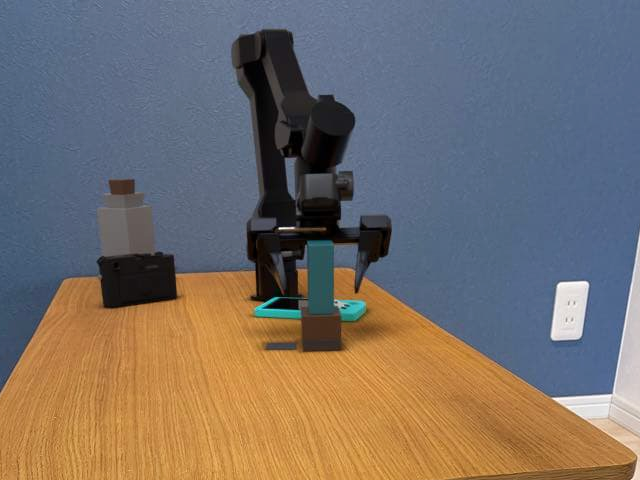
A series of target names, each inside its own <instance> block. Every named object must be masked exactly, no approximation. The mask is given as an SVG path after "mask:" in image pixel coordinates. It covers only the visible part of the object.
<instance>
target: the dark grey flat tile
mask: <svg viewBox="0 0 640 480" xmlns="http://www.w3.org/2000/svg"><path fill="white" fill-rule="evenodd" d="M297 344H298V342H297V341H295V342H288V341H287V342H286V341H285V342H267V343H266V346H265V350H266V351H267V350H297Z"/></svg>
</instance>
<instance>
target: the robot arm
mask: <svg viewBox="0 0 640 480" xmlns="http://www.w3.org/2000/svg"><path fill="white" fill-rule="evenodd" d="M294 47H295V45H294V35H293V33H292V31H291V30H288V29H287V28H261V29H260V30H257V31H255V32H254V33H240V34H239V35H238V37H237V38H236V39H235V40H234V41H232V43H231V48H230V49H231V50H230V58H231V65H232V68H233V69H235V74H236V80H237V85H238V86H239V88H240V89H241V91H242V92H243V93H244V95H245V96H246V98H247V99H248V100H249V108H250V115H251V117H250V118H251V125H252V127H251V128H252V135H253V146H254V155H255V164H256V173H257V184H258V193H259V198H258V200H257V203H256V205H255V207H254V210H253V212H252V213H251V217H250V218H249V219H248V220H247V221H246V223H245V225H246V244H245V245H246V246H245V249H246V258H247V260H248V261H249V262H251V263H253V264H254V269H255V271H254V272H255V294H252V295H250V296H249V297H250V300H256V301H257V300H258V301H266V302H267V301H269V300H271V299H273V298H274V297H286V298H303V293H301V292H299V270H298V269H297V261H304V260H305V254H306V253H305V252H306V246H307V241H317V240H332V242H333V244H334V246H357V252H356V260H355V261H356V263H355V272H354V274H355V275H354V284H353V288H354V294H355V295H356V294H357V295H358V294H359V292H360V289H361V286H362V283H363V280H364V277H365V275H366V272H367V271H368V270H369V267H370V265H371V264H372V263H377V262H379V260H380V259H381V258H382V259H383V258H385V257H387V256H388V255H389V252H390V251H389V250H390V244H391V239H392V232H393V224H392V219H391V218H390V217H389V216H388V214H385V213H384V214H360V216H359V225H358V226H357V227H356V226H355V227H341V226H340V225H341V224H340V221H341V220H342V202H352V201H353V199H354V195H355V194H354V193H355V184H354V183H355V182H354V172H353V170H338V172H337V166H339V165H340V164H342V163H343V161H344V158H345V155H346V152H347V150H348V147H349V145H350V141H351V138H352V135H353V132H354V129H355V126H356V121H357V120H356V115H355V113H354V112H352V110H351V109H350V108H349V107H348V106H347V105H345V104H343V103H341V102H339V101H337V100H335V99H336V98H335V95H334V94H318V96H317V99H316V98H315V97H314V96H312V95H311V93H310V91H309V89H308V86H307V83H306V80H305V77H304V74H303V71H302V68H301V65H300V63H299V60H298V57H297V55H296V51H295V49H294ZM286 159H295V161H294V163H293V164H294V165H293V170H294V171H293V172H294V197H295V199H294V197H293V196H292V195H291V193H290V192H289V186H288V177H287V166H286Z"/></svg>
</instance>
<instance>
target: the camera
mask: <svg viewBox="0 0 640 480" xmlns="http://www.w3.org/2000/svg"><path fill="white" fill-rule="evenodd" d="M154 254H155V255H151V254H150V253H144V254H141V255H140V254H138V253H134V254H125V255H116V256H107V257H105V256H99V257H98V259H97V260H96V264H97V265H98V270H99V271H98V272H99V274H98V275H97V276H96V278H97V280H99V281H100V290H101V296H102V304H103V307H104V308H107V309H115V308H123V307H130V306H137V305H143V304H151V303H158V302H164V301H165V302H166V301H172V300H176V299H177V298H178V289H177V276H176V271H177V270H178V266H176V264H175V255H174V254H171V253H164V252H163V251H155V253H154Z"/></svg>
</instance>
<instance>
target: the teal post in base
mask: <svg viewBox="0 0 640 480" xmlns="http://www.w3.org/2000/svg"><path fill="white" fill-rule="evenodd" d="M306 261H307V262H306V267H307V270H306V272H307V273H306V274H307V275H306V276H307V280H306V281H307V298H308V307H301V319H300V333H301V337H300V338H301V339H300V340H301V348H302V352H322V351H323V352H327V351H328V352H329V351H331V352H332V351H342V321H341V313H340V310H339V307H338V306H334V300H335V245H334V244H333V242H332V240H317V241H307V245H306Z"/></svg>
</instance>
